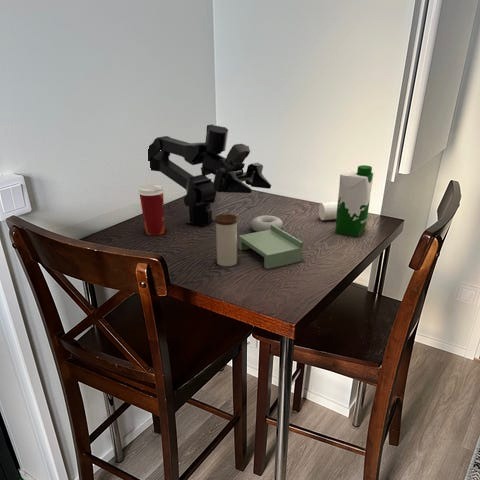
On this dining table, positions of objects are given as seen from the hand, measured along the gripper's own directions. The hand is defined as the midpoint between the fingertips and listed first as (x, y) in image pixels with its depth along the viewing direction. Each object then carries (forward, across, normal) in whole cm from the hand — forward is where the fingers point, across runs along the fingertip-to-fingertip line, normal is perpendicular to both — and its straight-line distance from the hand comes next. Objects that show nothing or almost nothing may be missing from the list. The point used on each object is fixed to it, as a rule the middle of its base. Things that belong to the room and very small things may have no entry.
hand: (261, 189), depth 136 cm
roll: (+11, +34, +11) cm, 37 cm away
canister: (+6, -16, +16) cm, 24 cm away
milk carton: (+20, +26, +9) cm, 34 cm away
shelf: (+12, -5, +14) cm, 19 cm away
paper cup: (-25, -12, +24) cm, 37 cm away
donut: (-1, +11, +16) cm, 19 cm away
